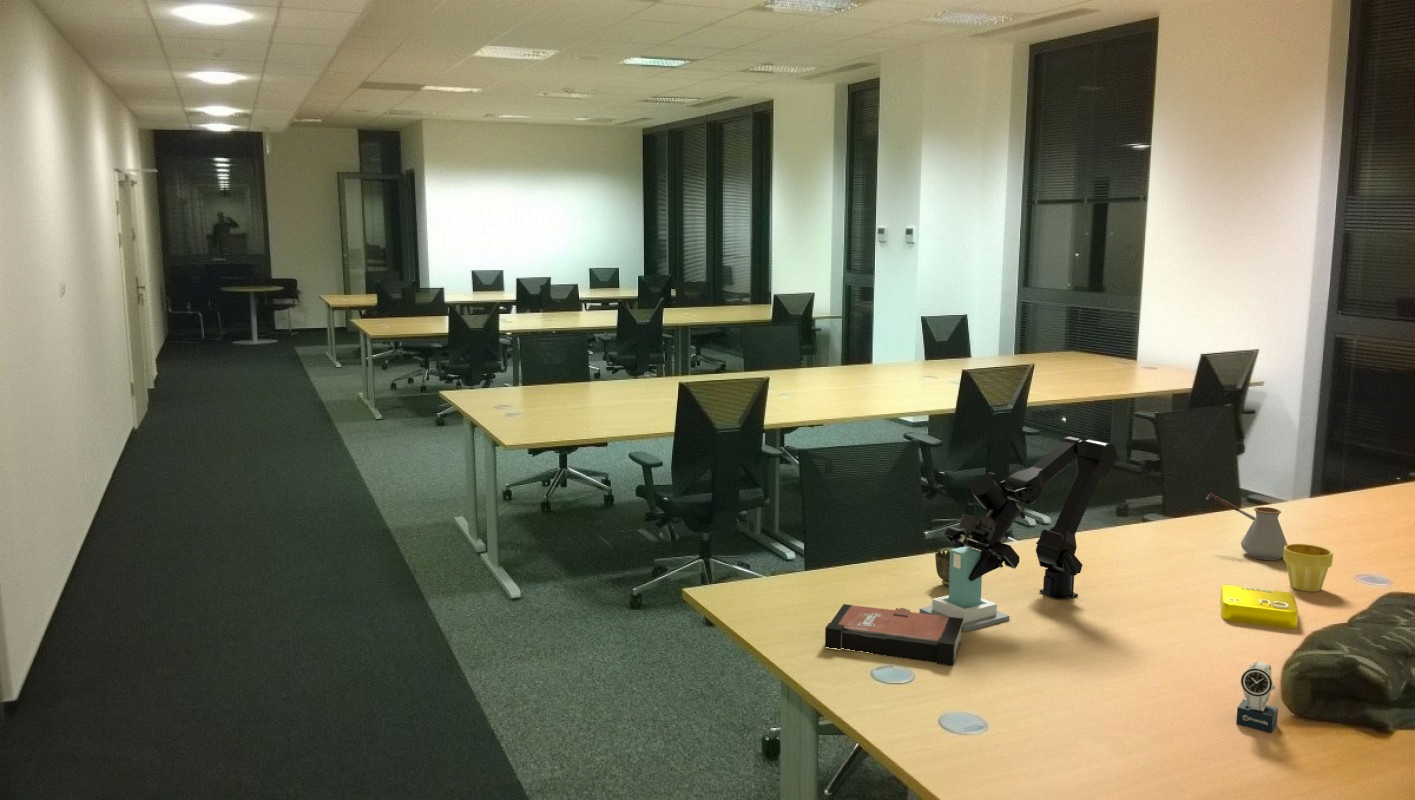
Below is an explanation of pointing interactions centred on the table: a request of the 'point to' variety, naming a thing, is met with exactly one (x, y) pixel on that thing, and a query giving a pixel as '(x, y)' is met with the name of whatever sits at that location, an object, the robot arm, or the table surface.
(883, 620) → the book
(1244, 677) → the watch
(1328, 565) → the plant pot
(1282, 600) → the element tile
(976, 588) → the teal rectangular block
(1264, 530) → the coffee pot
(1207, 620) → the table surface
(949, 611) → the square socket base
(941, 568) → the cup
